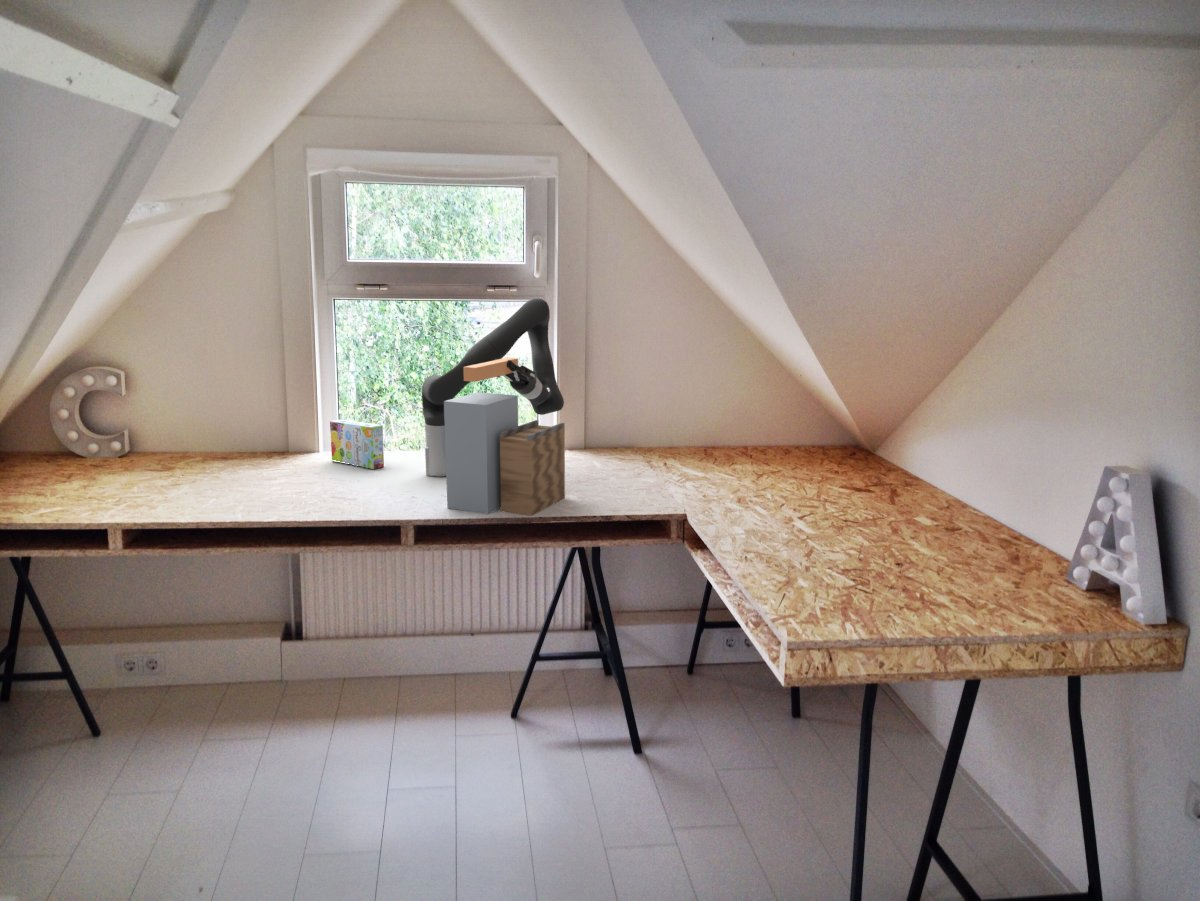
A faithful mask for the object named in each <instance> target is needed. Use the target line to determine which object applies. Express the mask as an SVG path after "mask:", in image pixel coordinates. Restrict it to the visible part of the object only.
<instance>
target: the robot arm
mask: <svg viewBox="0 0 1200 901" xmlns="http://www.w3.org/2000/svg"><path fill="white" fill-rule="evenodd" d="M550 312H551V311H550V306H549V304H548V302H547V301H546V300H545V299H543V298H539V297H536V298H531V299H528V301H526V302H524V303H523V305H522V306H521V307H520V308H519V309H517V310H516V311H515V313H513V314H512V315H511V316H510V317H509V318H508V319H506V320H505V321H503V323H501V324H500V325H498V326H497V327H496V328H494V329H493V330H492V331H491V332H489V333H488V334H487V335H485V336H484V337H482V338H481V339H480V340H478V341H477V342H476V343H474V345H473V346H471V347H470V348H469V349H468V350H467V352H466V353H465V355H464V356H463V357H462V359H461V360H460V361H459V362H458V363H457V364H456V365H455V366H454V367H453V368H451V369H450V370H447V372H445V373H443V374H442V375H441V374H440V375H439V374H432V375H429V376H428V377H426V378H425V379H424V381H423V382H422V385H421V401H422V402H421V404H422V414H423V419H424V429H425V430H424V431H425V433H424V435H425V448H424V456H425V476H429V477H430V476H431V477H446V450H445V420H444V401H446V400H450V399H454V398H456V396H457V395H458V394H460V392H461V391H462V390H463V389H464V388H465V387H466V386H467V385H469V383H471V382H472V381H464V370H463V367H466V366H470V365H475V364H480V363H484V362H489V361H494V360H498V359H503V358H505V356H506V355H507V354H508V353H509V351H511V349H512V348H513V346H514V345H515V344H516V343H517V342H518V340H519V339H520V338H521V337H522V336H523V335H525V334H526V333H527V336H528V337H529V338H528V339H529V344H530V348H531V349H530V350H531V363H532V364H531V365H532V369H530V368H528V367H527V366H525V365H519V364H518V365H517V364H514V363H513V362H512V361H511V360H508V361H507V367H508V368H509V369H510V370H511V371H513V373H510V374H506V375H502V376H497V377H496V378H501V377H504V378H505V380H508V382H509V385H510V387H511V388H512V389H513V390H515V391H516V392H517V393H518V394H519V395H520V396H522V397H523V398H525V399H527V400H528V401H529V402H530V405H531V406H532V409H533V411H534V413H535V414H537V415H540V416H543V415H548V414H551V413H555V412H559V411H561V410H562V409H563V408H564V406H565V405H564V404H565V401H564V400H565V399H564V397H563V395H562V391H560V388H559V386H558V382H557V379H556V375H555V374H556V373H555V368H554V361H553V358H552V353H551V352H552V351H551V348H550V343H549V322H550V316H551V313H550ZM548 389H549V390H548Z"/></svg>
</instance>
